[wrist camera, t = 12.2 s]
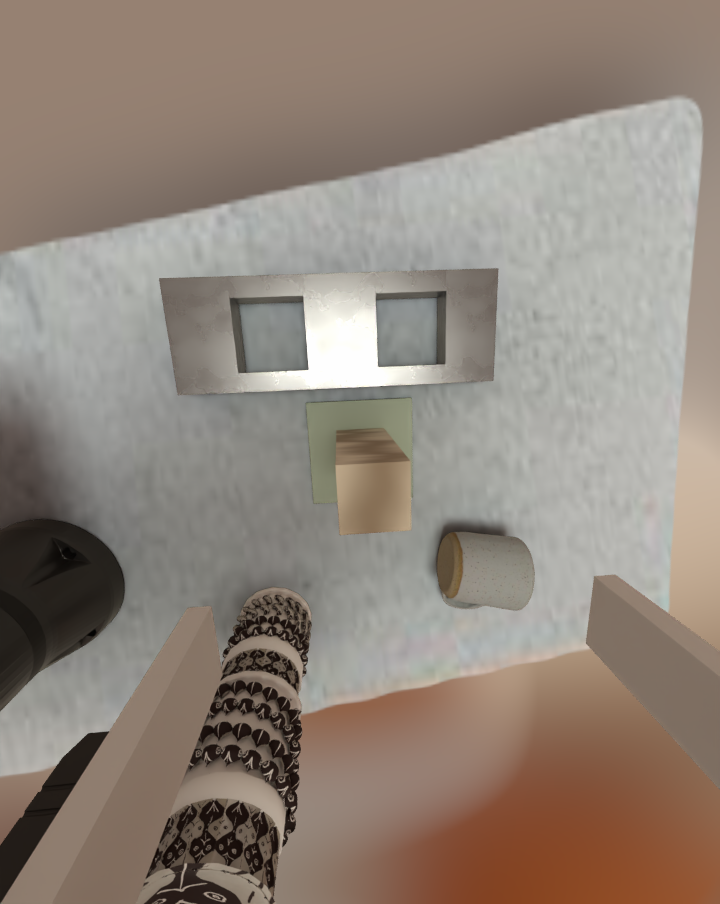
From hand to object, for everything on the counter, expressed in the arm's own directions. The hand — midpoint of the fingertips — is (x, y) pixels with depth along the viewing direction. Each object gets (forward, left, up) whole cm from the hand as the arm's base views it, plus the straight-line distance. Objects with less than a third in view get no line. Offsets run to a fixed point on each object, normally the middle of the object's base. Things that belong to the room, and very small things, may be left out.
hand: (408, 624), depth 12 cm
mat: (0, 0, -26) cm, 27 cm away
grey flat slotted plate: (-2, +12, -26) cm, 29 cm away
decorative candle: (-11, -20, -27) cm, 35 cm away
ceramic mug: (+12, -14, -27) cm, 33 cm away
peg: (0, 0, -26) cm, 26 cm away
